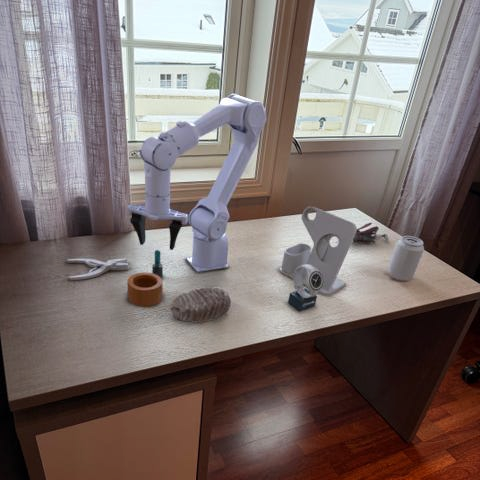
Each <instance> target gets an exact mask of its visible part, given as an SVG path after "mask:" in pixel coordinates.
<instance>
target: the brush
mask: <svg viewBox="0 0 480 480" xmlns="http://www.w3.org/2000/svg"><path fill="white" fill-rule="evenodd" d="M163 268H164V267H163V264H162V263H161V251H160V250H159V249H155V251H154V263H153V264H152V268H151V269H152V271H151V273H153V274H156V275H158V276H159V277H161V279H162V280H163V275H164V274H163Z"/></svg>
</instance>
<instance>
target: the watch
mask: <svg viewBox="0 0 480 480" xmlns="http://www.w3.org/2000/svg"><path fill="white" fill-rule="evenodd" d="M302 268H305V269H306V270H307V271H306V274H307V277H306V285H307V286H306V285H305V286H306V287H304V284H303V283H302V276H301V269H302ZM323 279H324V278H323V276H322V274H321V273H320V272H319V271H318V270H317V268H315V267H314V266H312V265H310V264H305V265H302V266H299V267H297V268H296V269H295V271H294V275H293V285H294V286H293V287H294V289H295V291H292V292H289V295H288V300H287V304H288V305H289V306H290V307H292V308H293V309H295V310H296V311H297V312H298V313H301V312H303V311H306V310H308V309H311V308H314V307H315V306H316V303H317V299H318V294H320V293H319V291H320V290H321V288H322V286H323Z"/></svg>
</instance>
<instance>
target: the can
mask: <svg viewBox="0 0 480 480" xmlns="http://www.w3.org/2000/svg"><path fill="white" fill-rule="evenodd" d="M424 245H425V244H424V241H423V240H422V239H421V238H418V237H416V236H414V235H403V236H401V238H400V239H399V240H397V242H396V244H395V248H394V251H393V254H392V256H391V259H390V262H389V266H388V268H387V274H388V275H389V276H390V277H391V279H394V280H395V281H397V282H408V281H411V280H413V278H414V276H415V275H416V271H417V268H418V266H419V263H420V261H421V258H422V256H423V252H424V251H425V246H424Z"/></svg>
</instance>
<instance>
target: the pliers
mask: <svg viewBox="0 0 480 480" xmlns="http://www.w3.org/2000/svg"><path fill="white" fill-rule="evenodd" d="M66 260H67V264H86V265H87V266H89V267H91V269H90V270H89V271H88V272H87V273H83V274H77V275H69V276H68V279H69V281H79V280H87V279H92V278H95V277H98V276H100V275H102V274H104V273H107V272H108V271H126V270H127V271H128V270H129V263H128V258H126V257H124V258H113V259H107V262H106V261H101V260H99V259H93V258H84V257H83V258H69V259H66ZM98 267H100V268H98Z"/></svg>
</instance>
